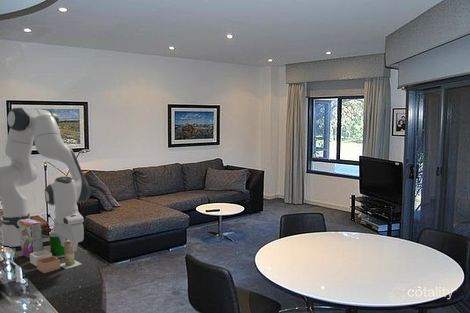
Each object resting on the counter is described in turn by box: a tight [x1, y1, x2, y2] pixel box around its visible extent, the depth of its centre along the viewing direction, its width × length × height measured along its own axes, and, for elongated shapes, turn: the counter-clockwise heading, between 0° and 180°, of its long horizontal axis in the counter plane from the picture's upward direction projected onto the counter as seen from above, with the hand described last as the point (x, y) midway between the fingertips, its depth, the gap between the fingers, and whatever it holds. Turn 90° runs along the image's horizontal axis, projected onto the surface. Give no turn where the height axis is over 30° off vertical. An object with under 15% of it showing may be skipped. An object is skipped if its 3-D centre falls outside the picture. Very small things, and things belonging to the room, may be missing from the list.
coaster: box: [60, 259, 82, 270], centre depth 171 cm, size 7×7×1 cm
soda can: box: [48, 229, 67, 259], centre depth 181 cm, size 8×8×12 cm
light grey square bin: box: [29, 249, 52, 267], centre depth 174 cm, size 7×7×4 cm
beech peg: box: [64, 240, 76, 266], centre depth 171 cm, size 4×4×10 cm
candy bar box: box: [19, 218, 44, 259], centre depth 182 cm, size 11×5×16 cm, turn 53°
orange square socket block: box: [36, 256, 61, 274], centre depth 166 cm, size 7×7×4 cm
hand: (69, 248), depth 170 cm, fingers open, 8 cm apart
